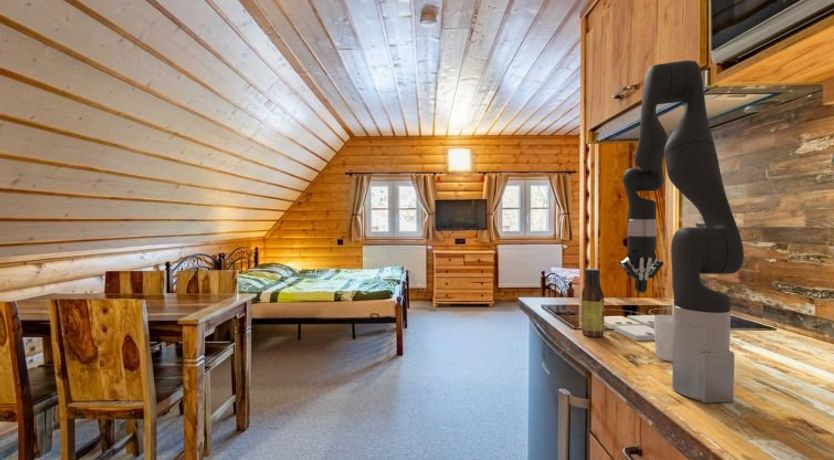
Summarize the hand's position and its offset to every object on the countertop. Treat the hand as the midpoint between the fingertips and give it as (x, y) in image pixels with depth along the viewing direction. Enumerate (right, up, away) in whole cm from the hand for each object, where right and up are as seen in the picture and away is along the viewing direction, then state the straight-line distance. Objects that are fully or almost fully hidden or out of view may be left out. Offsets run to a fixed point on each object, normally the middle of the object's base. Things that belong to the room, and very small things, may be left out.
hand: (640, 292), depth 118 cm
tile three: (+11, -13, +13) cm, 21 cm away
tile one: (0, -13, 0) cm, 13 cm away
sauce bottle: (-14, -13, +1) cm, 19 cm away
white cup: (-3, -14, -19) cm, 24 cm away
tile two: (-1, -13, +12) cm, 18 cm away
